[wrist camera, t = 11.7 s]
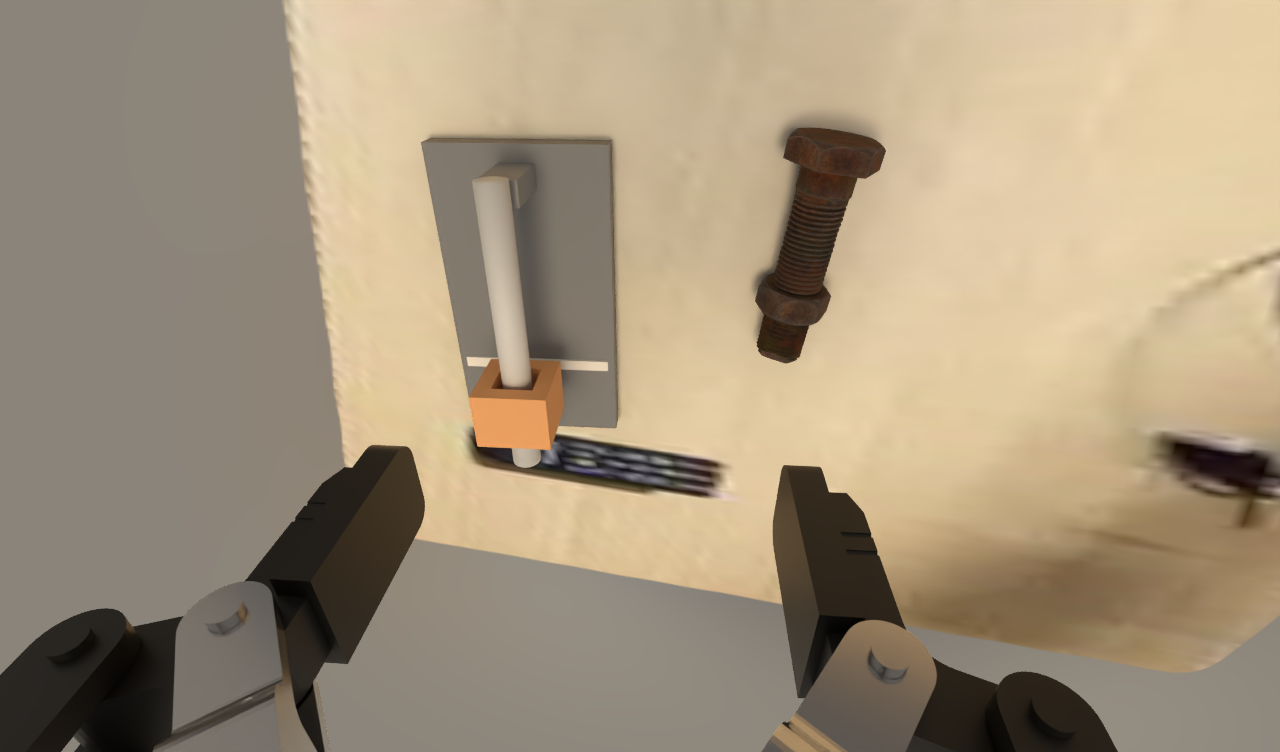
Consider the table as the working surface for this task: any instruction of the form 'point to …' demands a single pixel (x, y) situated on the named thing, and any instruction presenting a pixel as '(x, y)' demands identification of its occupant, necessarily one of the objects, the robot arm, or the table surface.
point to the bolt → (811, 234)
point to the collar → (518, 408)
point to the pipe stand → (531, 264)
